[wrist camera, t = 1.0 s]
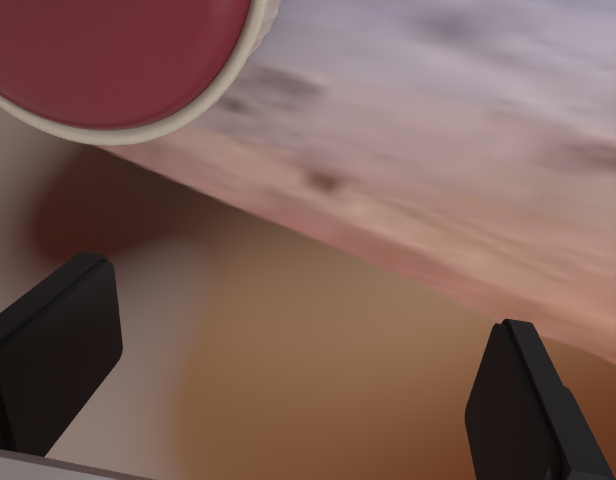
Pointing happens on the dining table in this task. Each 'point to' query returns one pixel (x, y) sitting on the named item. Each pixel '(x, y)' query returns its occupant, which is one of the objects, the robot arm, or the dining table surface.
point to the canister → (123, 63)
